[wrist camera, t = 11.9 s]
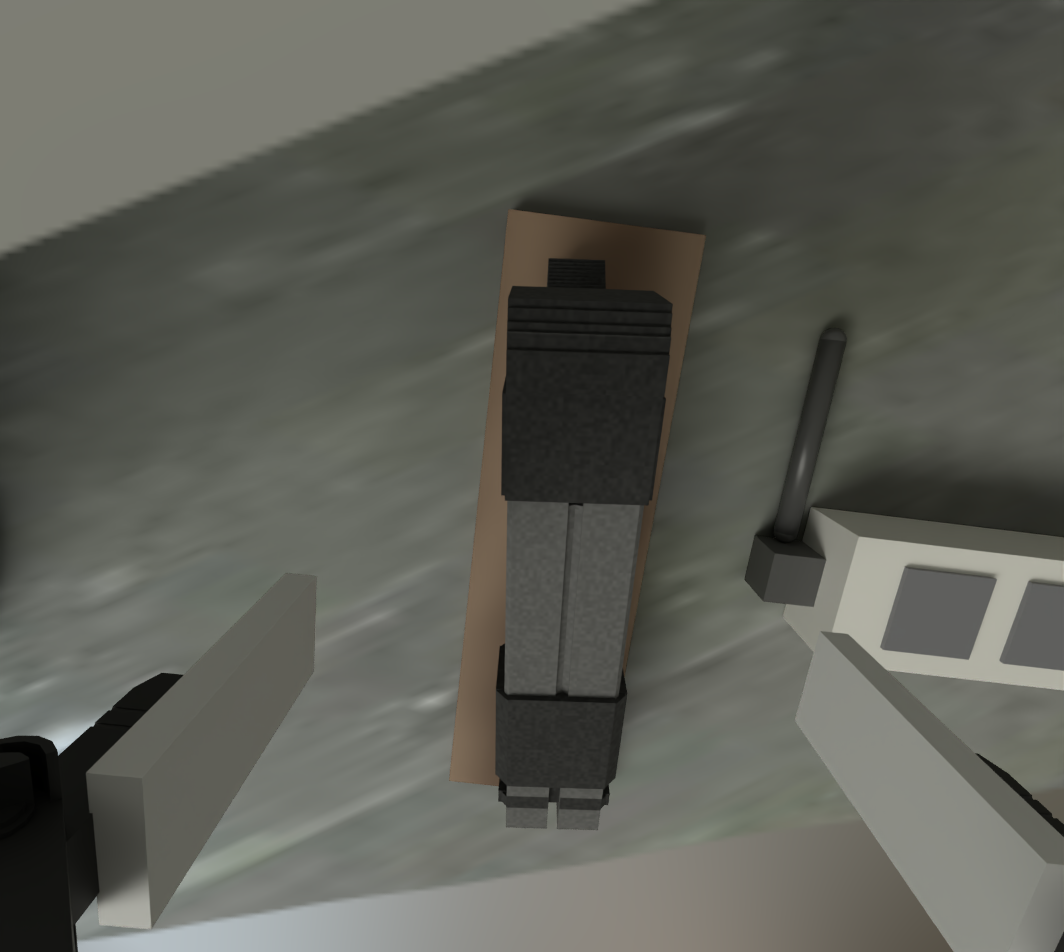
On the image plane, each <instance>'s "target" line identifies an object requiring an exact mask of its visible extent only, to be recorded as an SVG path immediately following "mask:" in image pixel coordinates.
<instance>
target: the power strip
mask: <svg viewBox="0 0 1064 952" xmlns="http://www.w3.org/2000/svg"><path fill="white" fill-rule="evenodd" d="M846 342H847V336H846V334H845V332H844V331H843V330H841V329H838V328H831V329H828V330H826V331H825V332H824V333H823V334H822V335H821V337H820V340H819V345H818V349H817V353H816V357H815V361H814V365H813V369H812V374H811V378H810V382H809V386H808V390H807V394H806V398H805V403H804V407H803V411H802V415H801V419H800V423H799V427H798V432H797V436H796V440H795V444H794V448H793V452H792V456H791V461H790V465H789V469H788V473H787V477H786V481H785V485H784V490H783V494H782V498H781V502H780V506H779V510H778V514H777V519H776V523H775V527H774V535H775V537H776V538H773V537H765V536H756V535H755V537H754V541H753V546H752V550H751V554H750V559H749V563H748V567H747V571H746V576H745V581H746V582H747V583H748V584H749V585H750V586H751V588H752V589H753V590H754V591H755V592H756V593H757V595H758V596H759V597H760V598H761V599H762V600H763V601H765V602H774V603H782V604H786V606H785V610H784V614H783V618H784V619H785V620H786V621H787V622H788V623H789V625H790V626H791V627H792V628H793V629H794V630H795V631H796V632H797V634H798V635H799V636H800V637H801V638H802V639H803V640H804V642H805V643H806V644H807V645H808V646H809V647H810V648H811V650H812V651H813V652H814V650H815V647H816V643H817V639H818V636H819V632H820V631H825V632H834V633H844V634H849V635H850V636H851V637H852V638H853V639H854V640H855V641H856V642H857V643H858V644H859V645H860V646H861V647H862V648H864V649H865V650H866V651H867V652H868V653H869V654H870V655H871V656H872V657H873V658H874V659H875V660H876V661H877V662H878V663H879V664H881V665H882V666H883V667H884V668H885V669H886V670H890V671H899V672H908V673H916V674H925V675H934V676H943V677H952V678H960V679H969V680H978V681H987V682H995V683H1004V684H1013V685H1022V686H1031V687H1039V688H1048V689H1057V690H1064V537H1057V536H1049V535H1040V534H1032V533H1024V532H1016V531H1007V530H999V529H991V528H983V527H974V526H966V525H958V524H949V523H941V522H933V521H925V520H916V519H908V518H900V517H891V516H883V515H875V514H867V513H858V512H850V511H842V510H834V509H825V508H817V507H811V508H810V512H809V516H808V520H807V524H806V528H805V532H804V536H803V540H802V541H798V540H795V539H796V537H797V535H798V532H799V528H800V524H801V520H802V516H803V512H804V508H805V504H806V500H807V496H808V492H809V488H810V484H811V480H812V476H813V472H814V468H815V464H816V460H817V457H818V453H819V449H820V445H821V441H822V437H823V433H824V429H825V425H826V421H827V417H828V413H829V409H830V405H831V401H832V397H833V393H834V389H835V385H836V381H837V378H838V374H839V370H840V366H841V362H842V358H843V354H844V350H845V346H846Z"/></svg>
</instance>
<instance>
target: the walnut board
mask: <svg viewBox="0 0 1064 952" xmlns="http://www.w3.org/2000/svg"><path fill="white" fill-rule="evenodd" d="M705 239H706V235H700V234H693V233H685V232H678V231H670V230H663V229H655V228H648V227H640V226H632V225H625V224H617V223H610V222H602V221H595V220H587V219H580V218H572V217H564V216H557V215H549V214H542V213H534V212H527V211H519V210H511V209H508V218H507V228H506V238H505V247H504V257H503V267H502V276H501V286H500V296H499V305H498V315H497V324H496V334H495V344H494V353H493V363H492V373H491V382H490V392H489V401H488V411H487V421H486V430H485V440H484V450H483V459H482V469H481V479H480V488H479V498H478V507H477V517H476V527H475V536H474V546H473V556H472V565H471V575H470V584H469V594H468V604H467V613H466V623H465V633H464V642H463V652H462V661H461V671H460V681H459V690H458V700H457V710H456V719H455V729H454V739H453V748H452V758H451V767H450V777H449V781H456V782H465V783H475V784H484V785H493V786H499V777H498V776H497V775H495V738H496V681H497V670H498V659H499V648H500V646H502V645H503V644H505V619H506V553H507V501H505V496H502V495H501V458H502V391H503V386H504V382H505V377H506V350H507V313H508V297H509V294H510V291H511V288H512V286H532V287H547V276H548V259H549V258H561V259H590V260H605V271H606V272H605V275H606V276H605V278H606V281H605V282H606V285H605V286H606V289H621V290H646V291H655V292H656V293H658V294H659V295H661V296H662V297H663V298H665V299H666V300H668V301H669V302H671V303H672V304H673V308H672V314H673V315H672V323H671V328H672V330H671V337H672V338H671V345H670V352H669V355H670V360H669V367H668V374H667V382H666V389H665V398H666V404H665V411H664V418H663V426H662V433H661V440H660V447H659V454H658V461H657V468H656V476H655V483H654V490H653V497H652V501H650V500H649V505H648V506H646V505H644V510H643V518H642V525H641V533H640V540H639V548H638V555H637V562H636V570H635V577H634V585H633V592H632V600H631V607H630V615H629V622H628V630H627V637H626V645H625V652H624V660H623V667H622V668H623V673H624V676H625V671H626V666H627V660H628V655H629V649H630V644H631V639H632V633H633V628H634V622H635V617H636V612H637V606H638V601H639V595H640V590H641V585H642V579H643V574H644V568H645V563H646V558H647V552H648V547H649V541H650V536H651V531H652V525H653V520H654V514H655V509H656V504H657V498H658V493H659V487H660V482H661V477H662V471H663V466H664V460H665V455H666V450H667V444H668V439H669V433H670V428H671V423H672V417H673V412H674V406H675V401H676V396H677V390H678V385H679V379H680V374H681V369H682V363H683V358H684V352H685V347H686V342H687V336H688V331H689V325H690V320H691V315H692V309H693V304H694V298H695V293H696V288H697V282H698V277H699V271H700V266H701V261H702V255H703V250H704V244H705Z"/></svg>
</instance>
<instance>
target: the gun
mask: <svg viewBox="0 0 1064 952" xmlns="http://www.w3.org/2000/svg"><path fill="white" fill-rule="evenodd" d="M605 272H606V271H605V260H590V259H561V258H549V259H548V276H547V287H532V286H512V288H511V291H510V294H509V297H508V313H507V350H506V377H505V382H504V386H503V391H502V458H501V495H502V496H505V501H507V553H506V619H505V644H503V645H502V646H500V648H499V659H498V670H497V681H496V738H495V775H497V776H498V777H499V799H498V801H500V802H503V803H504V804H505V805H506V827H515V828H547V814H548V802H557V829H578V830H598V825H599V817H600V809H601V808H602V807H603V806H604V805H608V802H609V795H610V793H609V785H608V784H609V783H610V782H611V781H612V780H613V779H615V776H616V769H617V762H618V755H619V748H620V741H621V734H622V726H623V719H624V712H625V705H626V698H627V689H626V684H625V678H624V673H623V668H622V667H623V660H624V652H625V645H626V637H627V630H628V622H629V615H630V607H631V600H632V592H633V585H634V577H635V570H636V562H637V555H638V548H639V540H640V533H641V525H642V518H643V510H644V505H646V506H648V505H649V500H650V501H652V497H653V490H654V483H655V476H656V468H657V461H658V454H659V447H660V440H661V433H662V426H663V418H664V411H665V404H666V398H665V389H666V382H667V374H668V367H669V360H670V355H669V352H670V345H671V338H672V337H671V330H672V328H671V323H672V315H673V314H672V308H673V304H672V303H671V302H669V301H668V300H666V299H665V298H663V297H662V296H661V295H659V294H658V293H656V292H655V291H646V290H621V289H606V286H605V285H606V282H605V281H606V278H605V276H606V275H605Z"/></svg>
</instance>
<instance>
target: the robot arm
mask: <svg viewBox="0 0 1064 952" xmlns="http://www.w3.org/2000/svg"><path fill="white" fill-rule="evenodd" d="M316 580H317V576H311V575H301V574H292V573H285V574H284V575H283V576H282V577H281V578H280V579H279V580H278V581H277V582H276V583H275V584H274V585H273V586H272V587H271V588H270V589H269V590H268V591H267V592H266V593H265V594H264V595H263V596H262V597H261V598H260V599H259V600H258V601H257V602H256V603H255V604H254V605H253V606H252V607H251V608H250V609H249V610H248V611H247V612H246V613H245V614H244V615H243V616H242V617H241V618H240V619H239V620H238V621H237V622H236V623H235V624H234V625H233V626H232V627H231V628H230V629H229V630H228V631H227V632H226V633H225V634H224V635H223V636H222V637H221V638H220V639H219V640H218V641H217V642H216V643H215V644H214V645H213V646H212V647H211V648H210V649H209V650H208V651H207V652H206V653H205V654H204V655H203V656H202V657H201V658H200V659H199V660H198V661H197V662H196V663H195V664H194V665H193V666H192V667H191V668H190V669H189V670H188V671H187V672H186V673H185V674H184V675H179V674H169V673H161V674H159V675H157V676H155V677H153V678H151V679H149V680H147V681H145V682H144V683H142V684H140V685H138V686H136V687H134V688H133V689H132V690H131V691H129V692H128V693H127V694H126V695H125V696H124V697H123V698H122V699H121V700H119V701H118V702H117V703H116V704H115V705H114V706H113V708H112V710H111V711H110V710H108V711H107V712H106V713H105V714H104V715H103V716H102V717H101V718H100V719H98V720H97V721H96V722H95V725H94V727H90V728H88V729H87V730H86V731H85V732H84V733H83V734H82V735H81V736H80V737H79V738H77V739H76V740H75V741H74V742H73V743H72V744H71V745H70V746H69V747H67V748H66V749H65V750H64V751H63V752H62V753H61V754H60V755H59V756H58V752H57V749H56V747H55V746H54V744H53V742H52V741H50V740H48V739H45V738H42V737H40V736H14V737H9V738H4V739H0V952H78V947H77V935H76V926H75V923H76V922H77V921H78V920H79V918H80V917H81V916H82V914H83V913H84V912H85V910H86V909H87V908H88V906H89V905H90V904H91V903H92V901H93V900H94V899H95V897H96V896H97V903H98V914H99V925H106V926H118V927H130V928H142V929H152V927H153V926H154V924H155V923H156V921H157V919H158V918H159V916H160V915H161V913H162V912H163V910H164V908H165V907H166V905H167V904H168V902H169V900H170V899H171V897H172V896H173V894H174V892H175V891H176V889H177V888H178V886H179V885H180V883H181V881H182V880H183V878H184V877H185V875H186V873H187V872H188V870H189V869H190V867H191V865H192V864H193V862H194V861H195V859H196V858H197V856H198V854H199V853H200V851H201V850H202V848H203V846H204V845H205V843H206V842H207V840H208V838H209V837H210V835H211V834H212V832H213V831H214V829H215V827H216V826H217V824H218V823H219V821H220V819H221V818H222V816H223V815H224V813H225V811H226V810H227V808H228V807H229V805H230V804H231V802H232V800H233V799H234V797H235V796H236V794H237V792H238V791H239V789H240V788H241V786H242V784H243V783H244V781H245V780H246V778H247V777H248V775H249V773H250V772H251V770H252V769H253V767H254V765H255V764H256V762H257V761H258V759H259V757H260V756H261V754H262V753H263V751H264V750H265V748H266V746H267V745H268V743H269V742H270V740H271V738H272V737H273V735H274V734H275V732H276V730H277V729H278V727H279V726H280V724H281V723H282V721H283V719H284V718H285V716H286V715H287V713H288V711H289V710H290V708H291V707H292V705H293V703H294V702H295V700H296V699H297V697H298V696H299V694H300V692H301V691H302V689H303V688H304V686H305V684H306V683H307V681H308V680H309V678H310V676H311V675H312V673H313V672H314V648H315V614H316ZM795 721H796V723H797V724H798V726H799V727H800V729H801V730H802V732H803V733H804V735H805V736H806V737H807V739H808V740H809V742H810V743H811V745H812V746H813V748H814V749H815V751H816V752H817V753H818V755H819V756H820V758H821V759H822V761H823V762H824V764H825V765H826V767H827V768H828V769H829V771H830V772H831V774H832V775H833V777H834V778H835V780H836V781H837V783H838V784H839V785H840V787H841V788H842V790H843V791H844V793H845V794H846V796H847V797H848V799H849V800H850V801H851V803H852V804H853V806H854V807H855V809H856V810H857V812H858V813H859V815H860V816H861V817H862V819H863V820H864V822H865V823H866V825H867V826H868V828H869V829H870V831H871V832H872V833H873V835H874V836H875V838H876V839H877V841H878V842H879V844H880V845H881V847H882V848H883V849H884V851H885V852H886V854H887V855H888V857H889V858H890V859H891V861H892V862H893V864H894V865H895V867H896V868H897V870H898V871H899V873H900V874H901V876H902V877H903V879H904V880H905V881H906V883H907V884H908V886H909V887H910V888H911V890H912V892H913V893H914V895H915V896H916V897H917V899H918V900H919V902H920V903H921V905H922V906H923V908H924V909H925V910H926V912H927V913H928V915H929V916H930V918H931V919H932V921H933V922H934V924H935V925H936V927H937V928H938V929H939V931H940V932H941V934H942V935H943V937H944V938H945V939H946V941H947V943H948V944H949V945H950V947H951V948H952V950H953V951H954V952H1064V824H1063V823H1061V822H1060V821H1059V820H1058V819H1056V818H1053V817H1052V813H1050V812H1049V811H1048V810H1047V809H1046V808H1045V807H1044V806H1043V805H1042V804H1041V803H1040V802H1039V801H1037V800H1033V799H1032V795H1031V794H1030V793H1029V792H1028V791H1027V790H1026V789H1024V788H1023V787H1022V786H1021V785H1020V784H1019V783H1018V782H1017V781H1016V780H1015V779H1014V778H1012V777H1011V776H1010V775H1009V774H1008V773H1007V772H1005V771H1004V770H1002V769H1001V768H999V767H998V766H996V765H994V764H993V763H991V762H990V761H988V760H987V759H985V758H984V757H982V756H981V755H979V754H976V753H974V752H973V751H972V750H971V749H970V748H969V747H967V746H966V745H965V744H964V743H963V742H962V741H961V740H960V739H959V738H958V737H957V736H956V735H955V734H954V733H953V732H952V731H951V730H949V729H948V728H947V727H946V726H945V725H944V724H943V723H942V722H941V721H940V720H939V719H938V718H937V717H936V716H935V715H934V714H932V713H931V712H930V711H929V710H928V709H927V708H926V707H925V706H924V705H923V704H922V703H921V702H920V701H919V700H918V699H917V698H916V697H914V696H913V695H912V694H911V693H910V692H909V691H908V690H907V689H906V688H905V687H904V686H903V685H902V684H901V683H900V682H899V681H897V680H896V679H895V678H894V677H893V676H892V675H891V674H890V673H889V672H888V671H887V670H886V669H885V668H884V667H883V666H882V665H881V664H879V663H878V662H877V661H876V660H875V659H874V658H873V657H872V656H871V655H870V654H869V653H868V652H867V651H866V650H865V649H864V648H862V647H861V646H860V645H859V644H858V643H857V642H856V641H855V640H854V639H853V638H852V637H851V636H850V635H849V634H844V633H834V632H825V631H820V632H819V636H818V639H817V643H816V647H815V650H814V654H813V657H812V661H811V664H810V668H809V672H808V675H807V679H806V682H805V686H804V690H803V693H802V697H801V700H800V704H799V707H798V711H797V715H796V718H795Z"/></svg>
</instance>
